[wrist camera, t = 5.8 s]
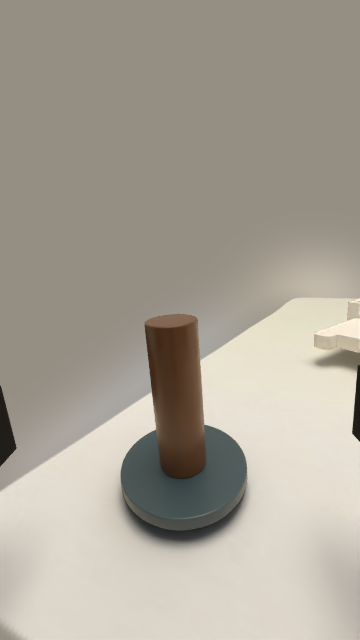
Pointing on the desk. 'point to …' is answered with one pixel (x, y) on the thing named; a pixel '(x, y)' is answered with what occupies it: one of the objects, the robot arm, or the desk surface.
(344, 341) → the organizer
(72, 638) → the desk surface
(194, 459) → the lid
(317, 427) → the desk surface
